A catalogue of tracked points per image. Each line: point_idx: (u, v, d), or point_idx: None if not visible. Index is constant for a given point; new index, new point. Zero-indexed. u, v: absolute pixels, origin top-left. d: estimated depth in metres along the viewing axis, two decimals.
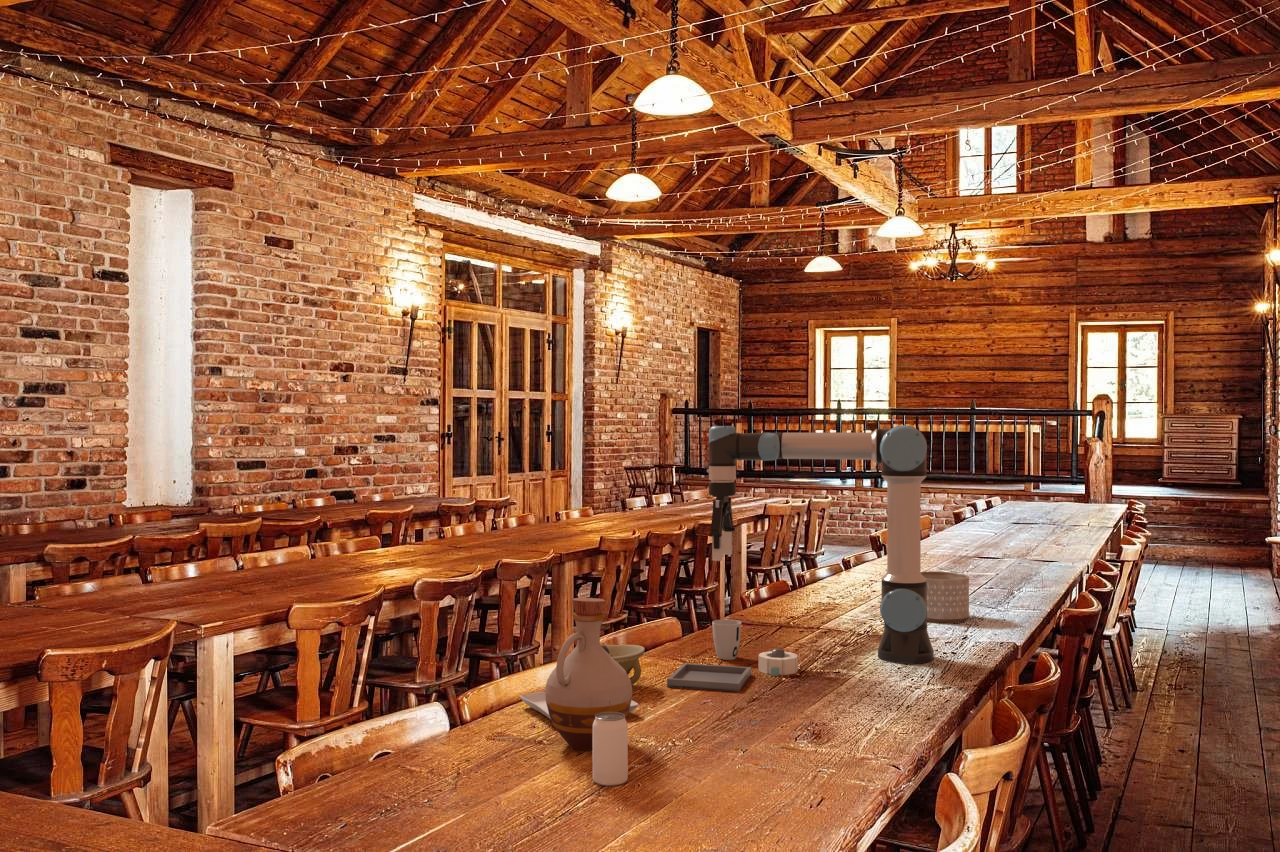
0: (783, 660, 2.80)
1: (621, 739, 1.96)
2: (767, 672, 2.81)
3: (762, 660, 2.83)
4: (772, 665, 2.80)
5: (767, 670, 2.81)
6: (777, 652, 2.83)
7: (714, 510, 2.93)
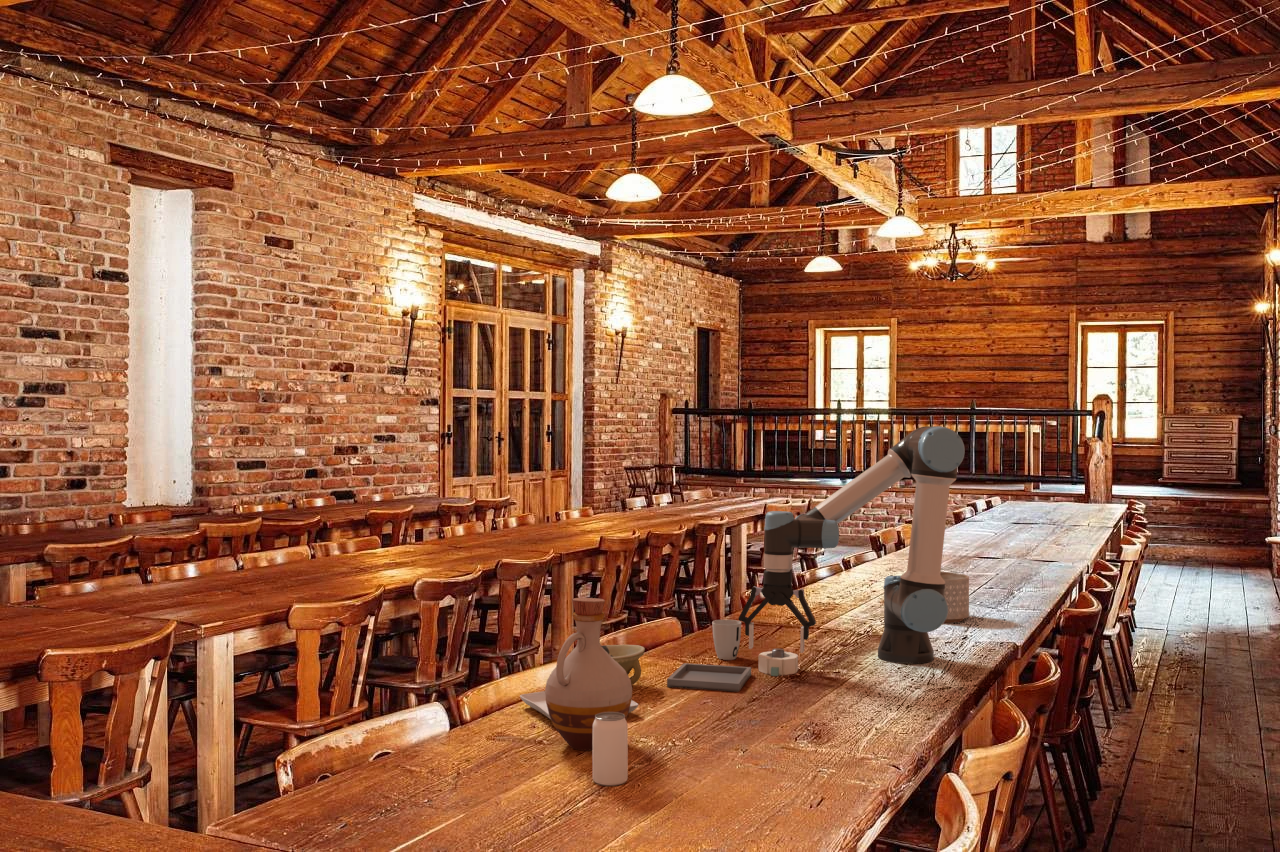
0: (783, 660, 2.80)
1: (621, 739, 1.96)
2: (767, 672, 2.81)
3: (762, 660, 2.83)
4: (772, 665, 2.80)
5: (767, 670, 2.81)
6: (777, 652, 2.83)
7: None
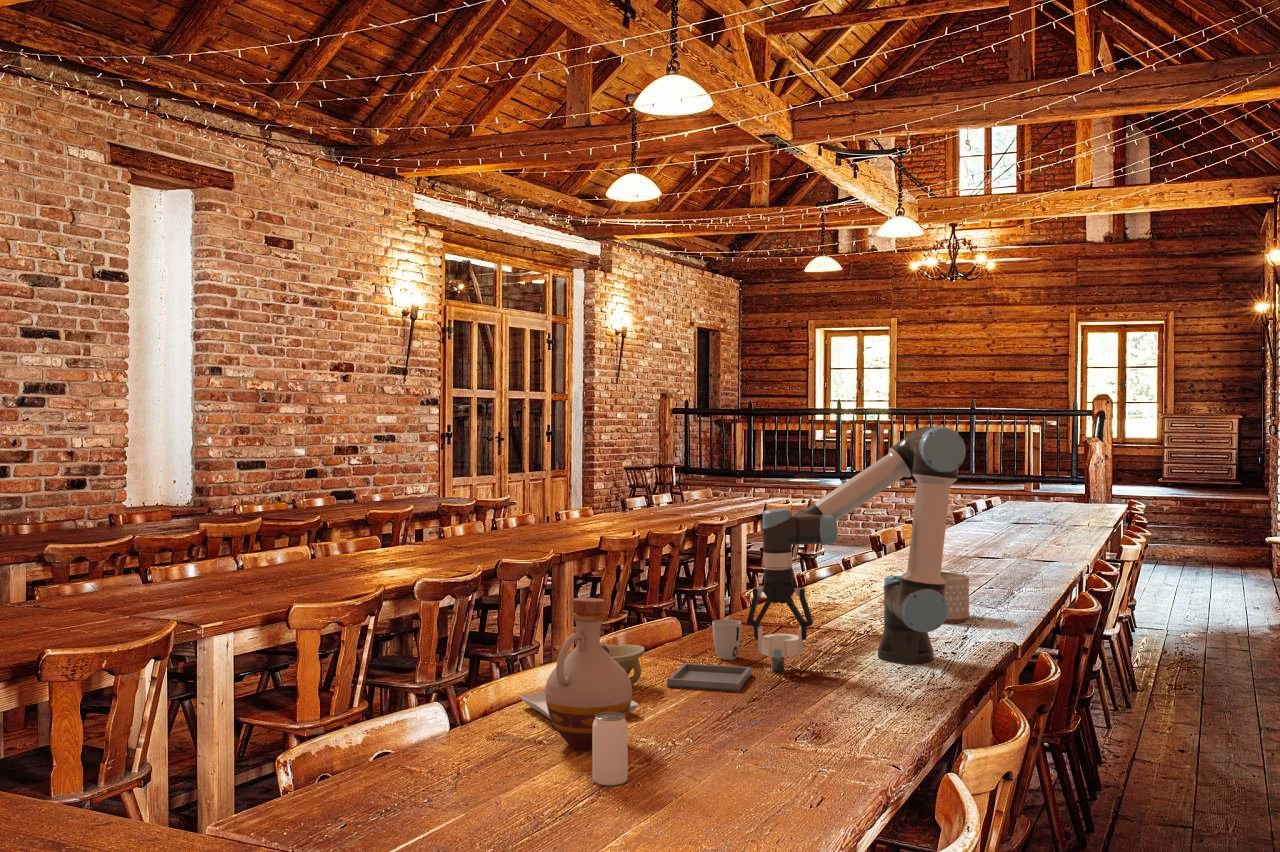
0: (785, 642, 2.80)
1: (621, 739, 1.96)
2: (770, 655, 2.81)
3: (764, 643, 2.83)
4: (774, 647, 2.80)
5: (770, 653, 2.81)
6: None
7: None
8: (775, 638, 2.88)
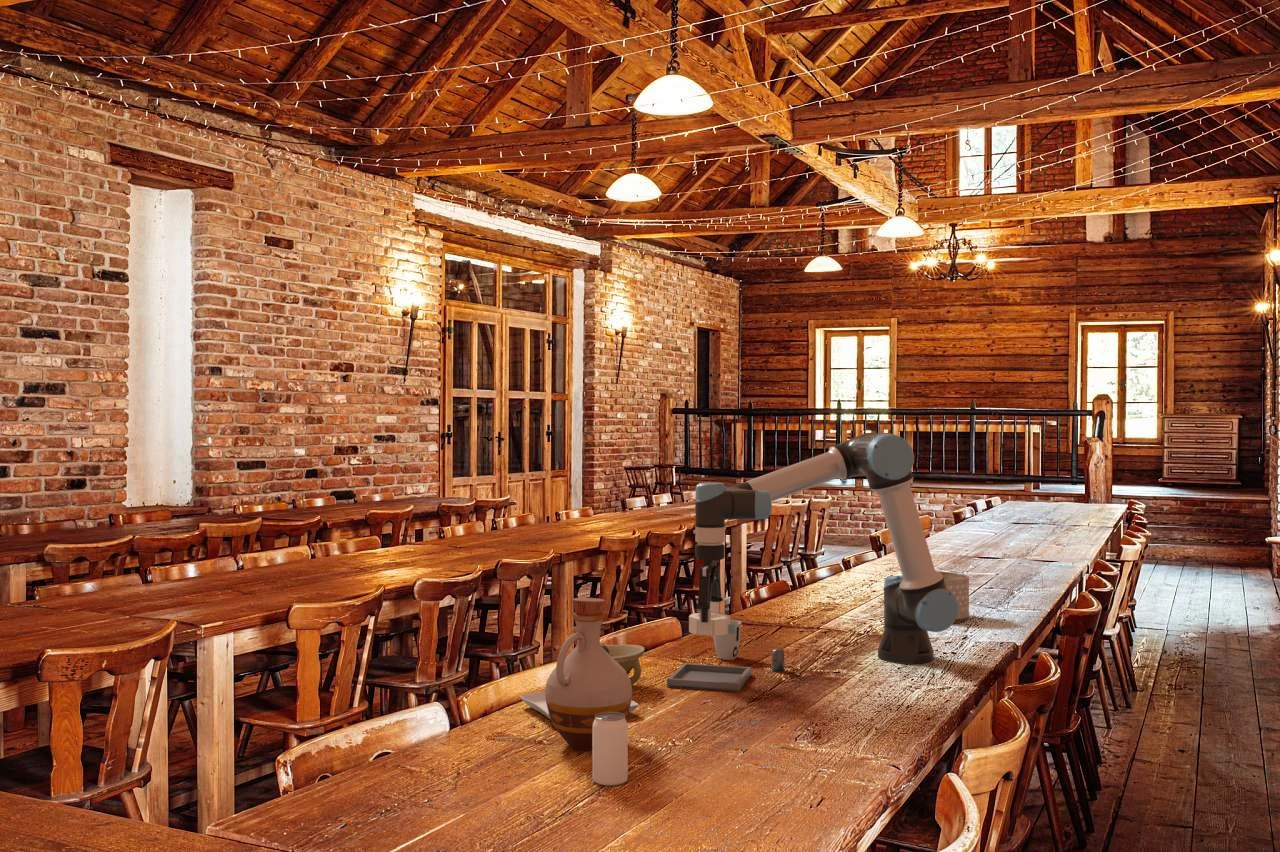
0: None
1: (621, 739, 1.96)
2: None
3: (720, 622, 2.69)
4: (728, 624, 2.72)
5: None
6: (777, 652, 2.83)
7: (701, 579, 2.67)
8: None
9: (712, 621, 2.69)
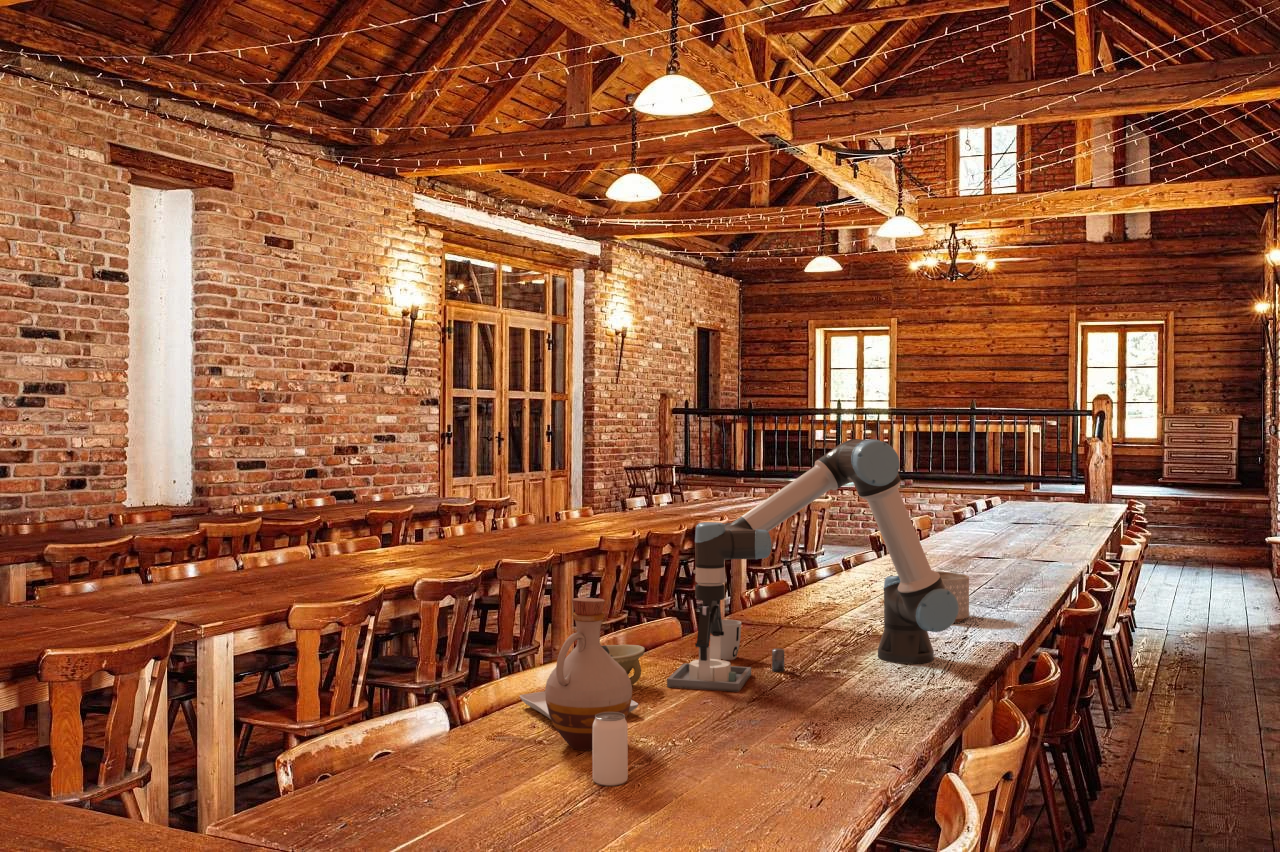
0: None
1: (621, 739, 1.96)
2: None
3: (720, 670, 2.69)
4: (728, 671, 2.72)
5: None
6: (777, 652, 2.83)
7: (701, 618, 2.67)
8: None
9: (712, 669, 2.69)
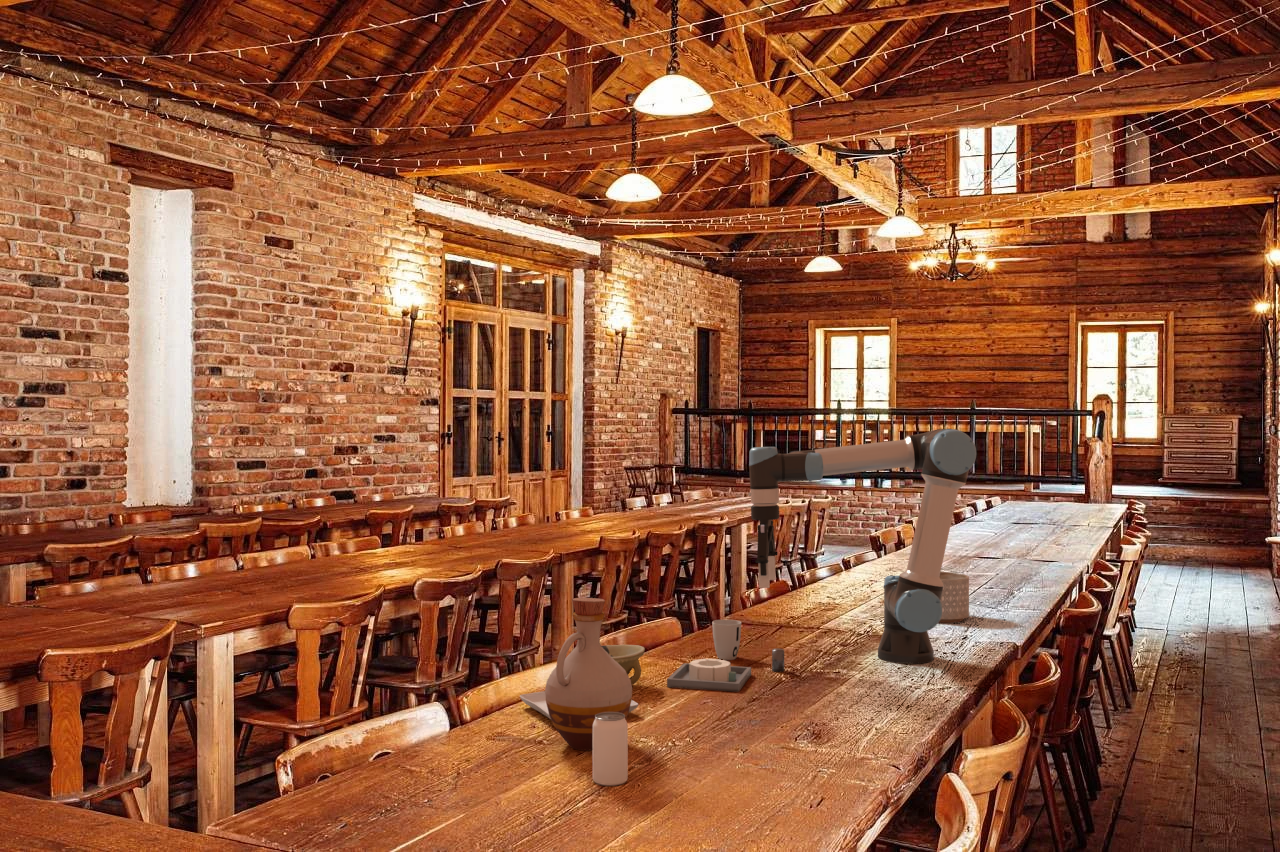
0: None
1: (621, 739, 1.96)
2: None
3: (720, 670, 2.69)
4: (728, 671, 2.72)
5: None
6: (777, 652, 2.83)
7: (759, 535, 2.81)
8: None
9: (712, 669, 2.69)
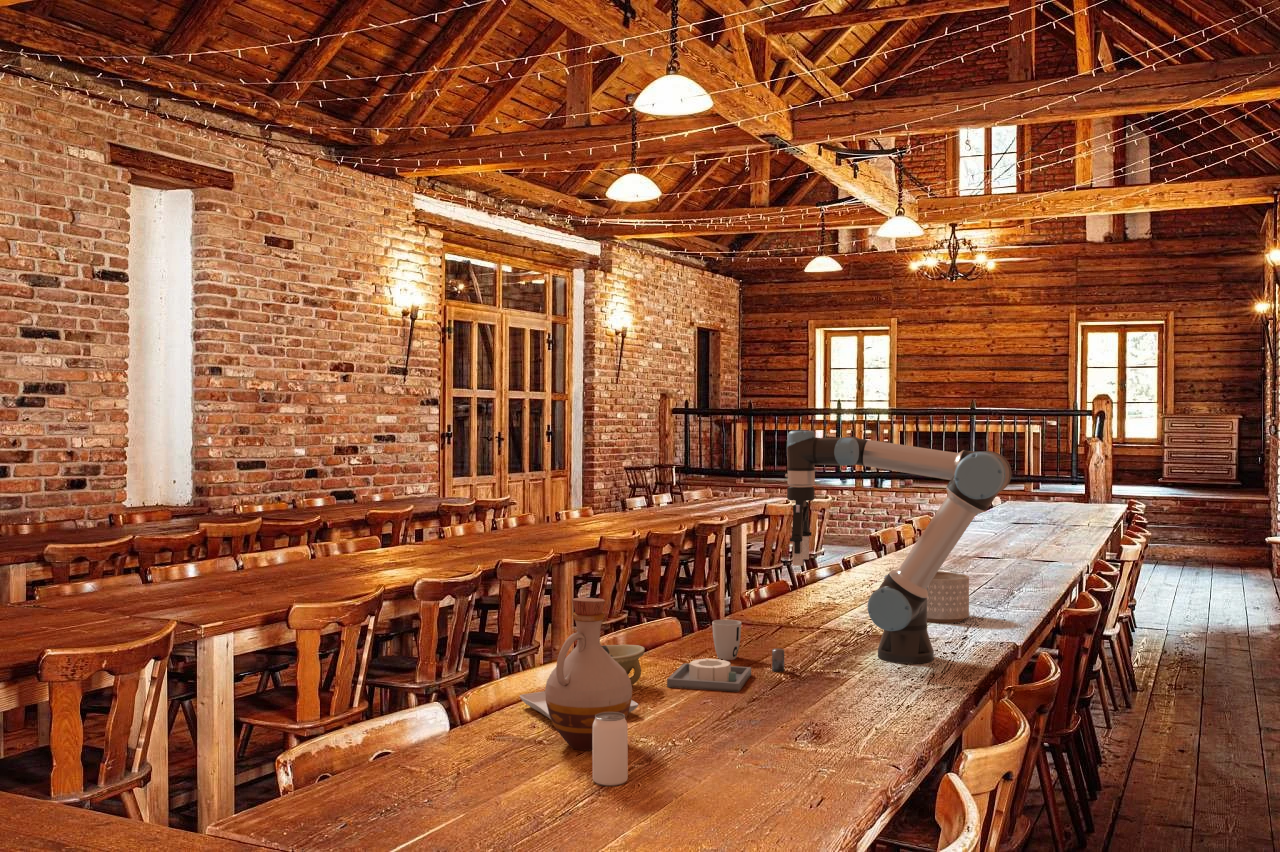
0: None
1: (621, 739, 1.96)
2: None
3: (720, 670, 2.69)
4: (728, 671, 2.72)
5: None
6: (777, 652, 2.83)
7: (795, 515, 2.92)
8: None
9: (712, 669, 2.69)
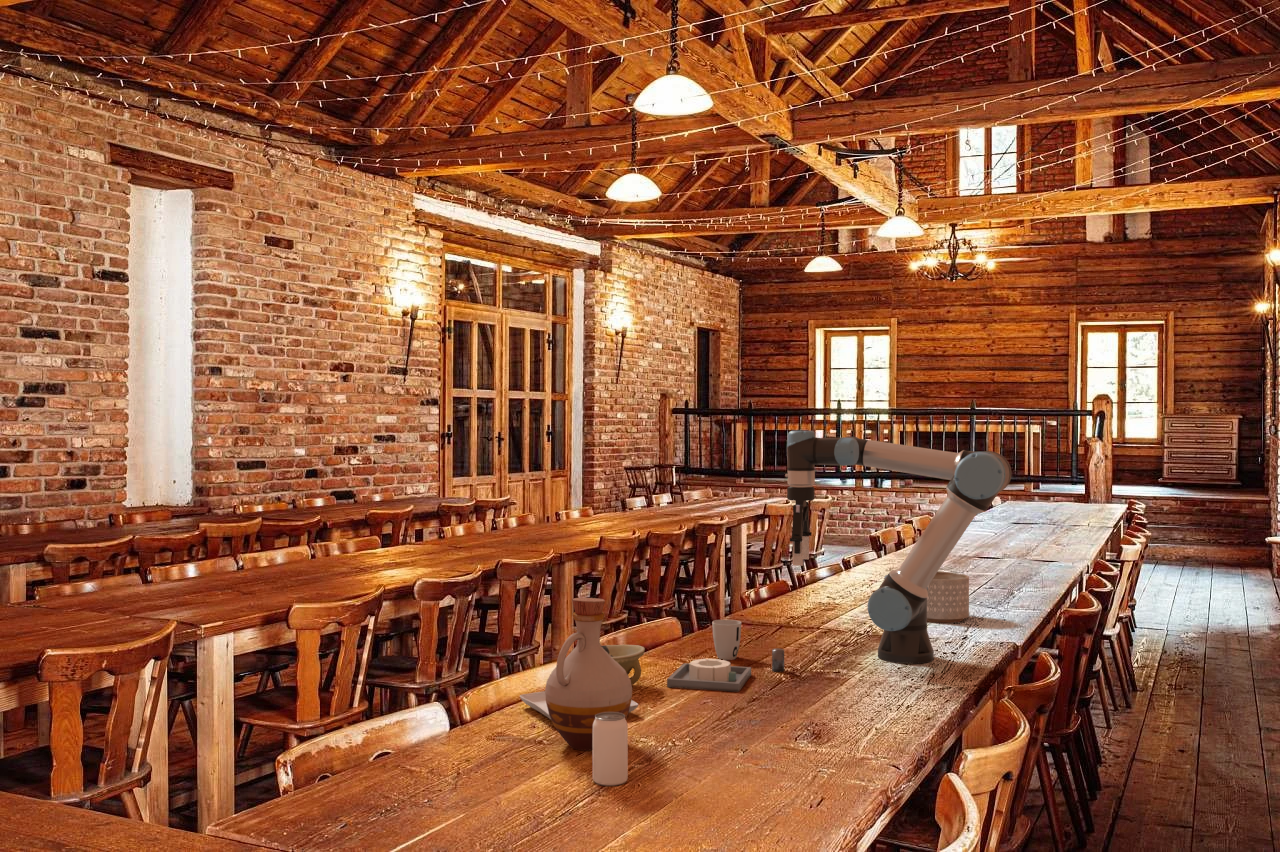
0: None
1: (621, 739, 1.96)
2: None
3: (720, 670, 2.69)
4: (728, 671, 2.72)
5: None
6: (777, 652, 2.83)
7: (795, 515, 2.92)
8: None
9: (712, 669, 2.69)
